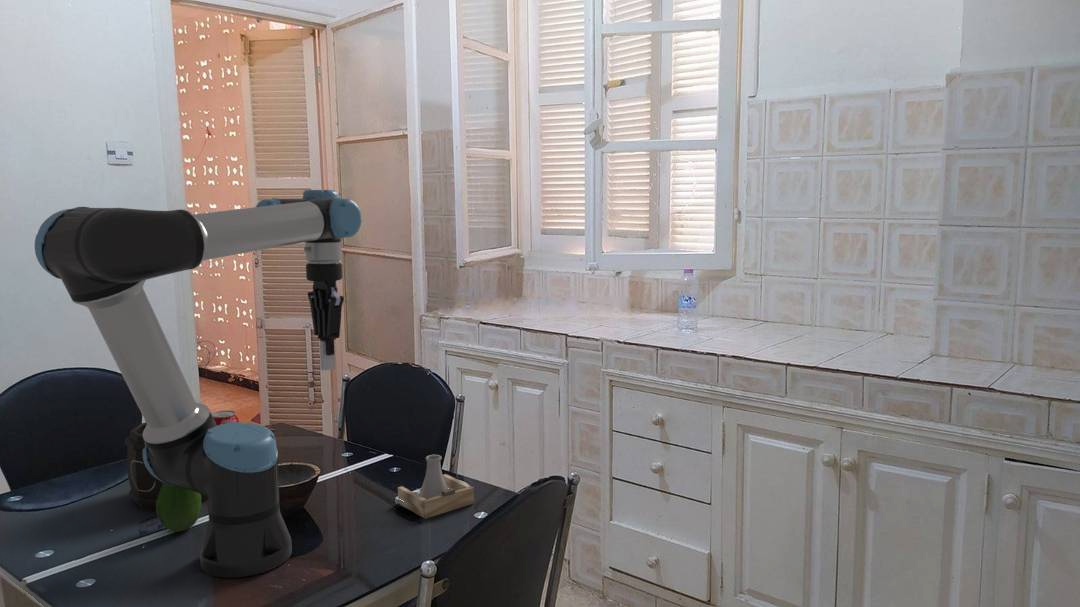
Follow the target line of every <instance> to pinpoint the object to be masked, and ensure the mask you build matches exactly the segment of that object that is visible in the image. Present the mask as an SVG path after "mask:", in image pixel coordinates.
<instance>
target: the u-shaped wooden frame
mask: <svg viewBox="0 0 1080 607" xmlns="http://www.w3.org/2000/svg"><path fill="white" fill-rule="evenodd" d="M442 475H443V477H444V480H445V482H446V485H447V487H448V488H449V489H446V490H443V491H442V495H439V496H436V497H432V498H429V499H425V498H423V497H421V496H419V494H418V493H415V492H413V491H411V490H410V489H408V488H406V487H405V486H403V485H401V486H397V503H398V504H399V505H400V506H402V507H404V508H405V509H408V510H409V511H411V512H413V513H414V514H416V515H418V516H419V517H422V519H424V520H425V519H426V520H427V519H429V518H432V517H436V516H439V515H441V514H445V513H448V512H451V511H455V510H457V509H461V508H464V507H467V506H469V505H473V504H475V492H474V491H475V490H474V488H475V487H474V486H472V485H470V484H467V483H465V482H464V481H461V480H459V479H457V478H455V477H453V476H451V475H449V474H447V473H444V474H442ZM398 498H399V499H401V500H403V501H404V502H403V501H401V500H399V499H398ZM406 503H407V504H406Z"/></svg>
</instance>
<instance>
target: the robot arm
mask: <svg viewBox="0 0 1080 607" xmlns="http://www.w3.org/2000/svg"><path fill="white" fill-rule="evenodd" d="M362 222H363V221H362V212H361V209H360V207H359V205H358V204H357V203H356V202H355V201H354V200H352V199H349V198H342V197H340V196H339V193H338V191H336V190H334V189H307V190H304V191H303V192H302V198H274V197H273V198H267V199H261V200H260V201H258V203H257V204H256V205H255V207H247V208H238V209H229V210H222V211H221V210H220V211H213V212H212V211H211V212H205V213H194V214H193V213H192V212H190V211H188V210H187V209H173V210H149V209H136V208H126V207H88V206H77V207H73V208H65V209H62V210H59V211H56V212H55V213H52V214H51V215H50V216H49V217H47V218H46V219H45V220H44V221H43V222H42V224H41V225H40V226H39V229H38V231H37V233H36V234H35V240H34V253H35V256H36V260H37V261H38V264H39V265H40V267H41V268H42V269H44V271H46V272H47V273H48V274H49V275H50V276H52V277H53V278H56V279H59V280H61V281H62V283H63V285H64V287H65V289H66V291H67V293H68V295H69V297H70V298H71V301H72V302H73V304H74V303H75V304H76V305H80V306H84V307H86V308H87V309H88V310H89V312H90V314H91V316H92V319H93V320H94V322H95V324H96V326H97V328H98V330H99V332H100V334H101V336H102V338H103V340H104V342H105V344H106V346H107V348H108V350H109V352H110V353H111V356H112V358H113V360H114V361H115V364H116V366H117V368H118V370H119V371H120V374H121V376H122V377H123V380H124V381H125V384H126V385H127V387H128V389H129V391H130V393H131V395H132V397H133V399H134V401H135V403H136V405H137V407H138V409H139V410H140V413H141V415H142V416H143V419H144V421H145V423H147V426H146V427H145V429H144V431H143V438H144V441H145V443H144V444H145V448H144V449H143V460H144V464H145V466H146V468H147V470H148V471H149V472H150V474H151V475H152V476H154V477H155V478H156V479H158V480H160V481H161V482H164V483H165V484H168V485H171V486H174V487H180V488H183V489H187V490H190V491H194V492H197V493H201V494H204V495H207V496H208V500H207V509H208V524H207V528H206V531H205V535H204V538H203V542H202V546H201V549H200V551H199V553H200V554H199V555H200V557H199V558H200V568H201V570H202V571H203V572H204V573H206V574H207V575H209V576H211V577H216V578H217V577H218V578H222V579H225V578H226V579H228V578H229V579H234V578H243V577H250V576H254V575H255V576H256V575H258V574H263V573H265V572H268V571H271V570H273V569H276V568H278V567H279V566H281V565H282V564H284V563H286V562H287V560H288V559H289V558H290V557H291V555H292V553H293V547H292V545H293V544H292V537H291V535H290V533H289V530H288V528H287V525H286V523H285V520H284V518H283V516H282V514H281V510H280V509H281V508H280V486H279V482H280V481H279V457H278V456H279V451H278V448H277V441H276V439H277V438H276V436H275V434H274V433H273V431H272V430H270V429H269V428H268V427H266V426H264V425H262V424H258V423H255V422H254V423H253V422H245V423H244V422H240V421H239V422H233V423H225V424H221V425H218V426H217V425H216V423H215V421H214V418H213V416H212V412H211V410H210V408H209V406H208V405H206V404H204V403H201V402H200V403H199V402H197V401H196V398H194V396H193V393H192V391H191V389H190V386H189V385H188V382H187V380H186V377H185V376H184V373H183V372H182V369H181V367H180V365H179V363H178V361H177V359H176V357H175V354H174V352H173V350H172V348H171V345H170V344H169V342H168V339H167V337H166V335H165V332H164V330H163V329H162V326H161V324H160V323H159V320H158V318H157V315H156V313H155V311H154V308H153V307H152V304H151V303H150V300H149V299H148V296H147V294H146V292H145V290H144V284H145V283H146V281H147V280H151V279H154V278H159V277H162V276H166V275H167V276H168V275H171V274H174V273H175V274H176V273H179V272H184V271H188V270H194V269H197V268H198V267H199V266H200V265H201V264H202V263H203V261H208V260H214V259H218V258H224V257H231V256H235V255H241V254H247V253H251V252H256V251H262V250H268V249H272V248H273V249H274V248H278V247H286V246H289V245H290V246H291V245H295V244H301V243H304V245H305V246H304V247H303V251H304V252H305V260H306V261H307V263H306V265H305V275H306V280H307V281H309V282H313V284H312V291H308V292H307V298H308V301H309V304H310V312H311V319H312V320H311V321H312V327H313V334H314V336H317V339H318V340H319V357H320V358H319V359H320V370H321V371H330V370H336V357H335V356H336V353H335V352H336V351H335V341H336V339H339V338H340V334H341V321H342V308H343V303H344V301H345V299H344V296H343V295H339V294H338V286H337V281H341V280H342V278H343V264H342V263H341V262H340V261H342V259H343V253H342V252H343V251H342V250H343V249H342V239H344V238H352V237H353V236H355V235H356V234H357V233H358V232H359V230H360V229H361V227H362Z"/></svg>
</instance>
